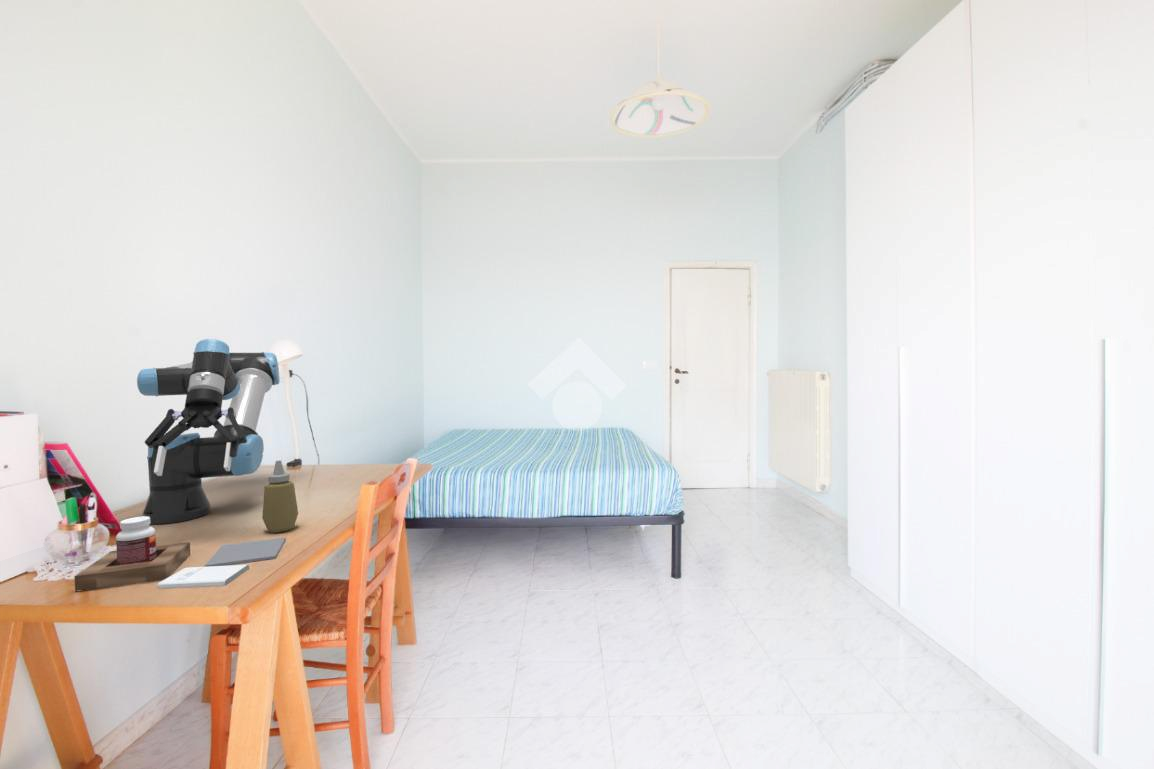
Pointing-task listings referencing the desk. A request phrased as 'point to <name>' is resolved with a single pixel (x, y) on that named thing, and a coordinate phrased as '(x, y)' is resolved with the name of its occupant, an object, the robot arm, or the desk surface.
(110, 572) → the walnut frame
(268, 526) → the squeeze bottle
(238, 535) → the desk surface
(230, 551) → the grey mat
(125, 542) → the pill bottle
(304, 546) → the desk surface
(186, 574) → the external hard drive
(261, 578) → the desk surface
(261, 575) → the desk surface
